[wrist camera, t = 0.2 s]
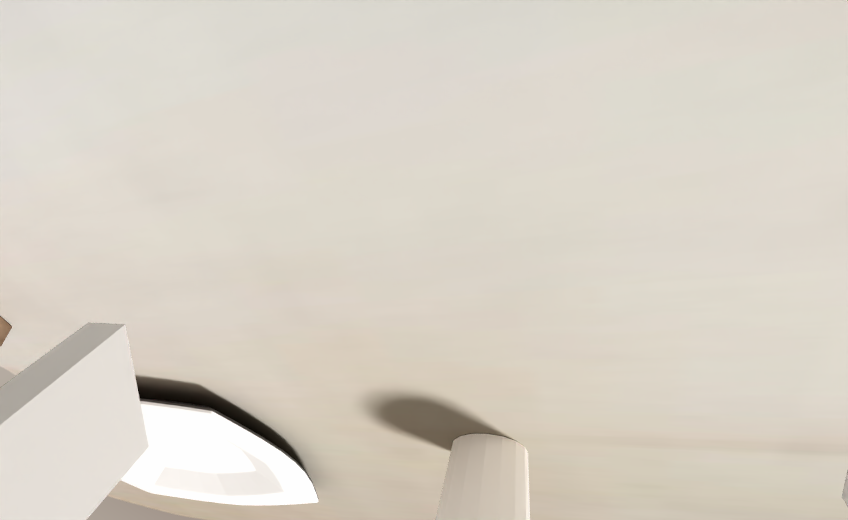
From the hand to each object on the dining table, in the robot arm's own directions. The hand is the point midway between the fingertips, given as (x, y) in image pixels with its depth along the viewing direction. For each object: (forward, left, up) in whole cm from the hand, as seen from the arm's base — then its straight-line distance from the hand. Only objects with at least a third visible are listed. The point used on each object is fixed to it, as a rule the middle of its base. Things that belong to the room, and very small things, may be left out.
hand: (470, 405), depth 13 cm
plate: (+44, -30, -15) cm, 55 cm away
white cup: (+39, -3, -15) cm, 42 cm away
